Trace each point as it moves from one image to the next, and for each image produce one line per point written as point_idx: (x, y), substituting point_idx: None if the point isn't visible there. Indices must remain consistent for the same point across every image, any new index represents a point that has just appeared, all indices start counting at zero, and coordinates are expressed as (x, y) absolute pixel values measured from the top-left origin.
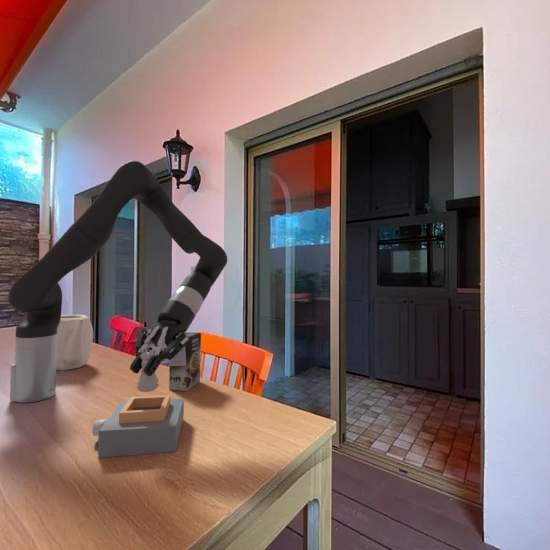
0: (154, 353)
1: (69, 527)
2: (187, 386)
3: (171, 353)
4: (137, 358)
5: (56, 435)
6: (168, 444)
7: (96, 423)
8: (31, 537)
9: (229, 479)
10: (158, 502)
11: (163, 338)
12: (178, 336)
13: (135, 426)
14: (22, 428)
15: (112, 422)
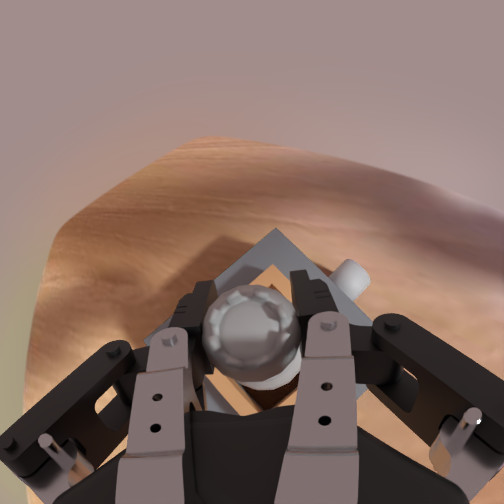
0: (217, 356)
1: (167, 171)
2: None
3: (129, 409)
4: (304, 296)
5: (425, 245)
6: None
7: (349, 264)
8: (189, 148)
9: (58, 328)
10: (107, 245)
11: (137, 407)
12: (32, 439)
13: (223, 286)
14: (483, 223)
15: (292, 266)
